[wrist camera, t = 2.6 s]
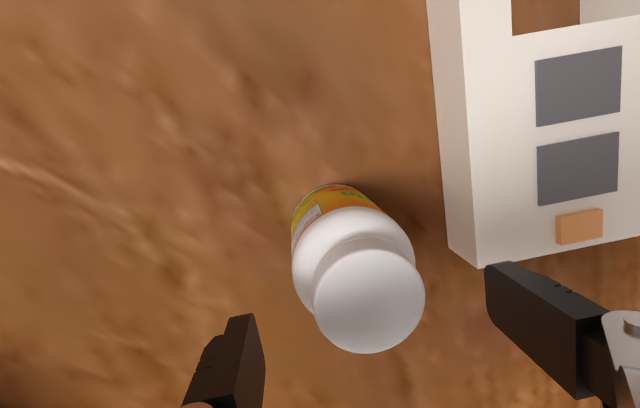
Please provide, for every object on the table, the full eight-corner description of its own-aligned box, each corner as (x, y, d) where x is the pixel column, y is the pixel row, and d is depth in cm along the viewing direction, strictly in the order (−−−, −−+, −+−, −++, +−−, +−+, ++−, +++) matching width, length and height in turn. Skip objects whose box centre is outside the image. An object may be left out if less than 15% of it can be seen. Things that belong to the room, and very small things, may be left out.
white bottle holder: (416, -109, 17) (452, -176, 14) (624, -139, 18) (714, -212, 14) (448, 247, 22) (481, 272, 18) (613, 214, 22) (678, 231, 19)
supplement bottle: (392, 212, 21) (477, 280, 12) (344, 280, 22) (387, 395, 12) (322, 165, 20) (352, 198, 11) (274, 238, 21) (262, 328, 11)
